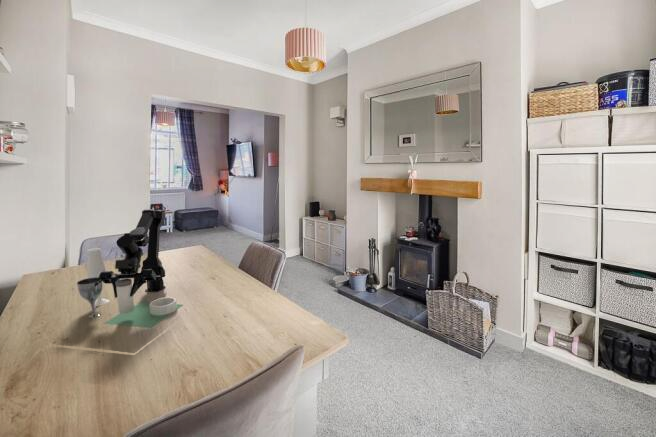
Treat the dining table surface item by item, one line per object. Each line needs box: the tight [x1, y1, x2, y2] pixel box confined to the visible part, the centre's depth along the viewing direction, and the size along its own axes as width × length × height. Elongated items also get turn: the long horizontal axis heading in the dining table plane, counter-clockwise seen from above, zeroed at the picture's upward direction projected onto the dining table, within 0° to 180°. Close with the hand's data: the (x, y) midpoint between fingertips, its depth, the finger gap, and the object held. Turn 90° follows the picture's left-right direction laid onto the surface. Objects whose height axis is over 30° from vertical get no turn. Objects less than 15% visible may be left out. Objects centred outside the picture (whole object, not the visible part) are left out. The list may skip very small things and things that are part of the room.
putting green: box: [103, 296, 184, 329], centre depth 129 cm, size 20×20×4 cm
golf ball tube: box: [115, 278, 135, 314], centre depth 123 cm, size 5×5×12 cm
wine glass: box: [76, 277, 104, 319], centre depth 126 cm, size 8×8×15 cm
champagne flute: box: [86, 247, 110, 307], centre depth 139 cm, size 7×7×24 cm
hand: (123, 296), depth 122 cm, fingers closed on golf ball tube, 5 cm apart
